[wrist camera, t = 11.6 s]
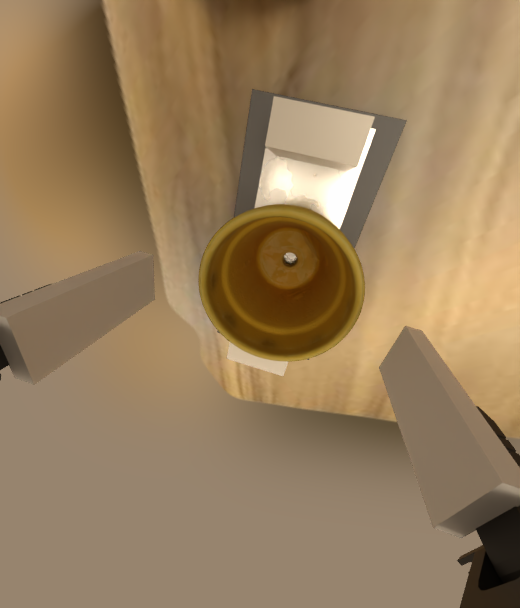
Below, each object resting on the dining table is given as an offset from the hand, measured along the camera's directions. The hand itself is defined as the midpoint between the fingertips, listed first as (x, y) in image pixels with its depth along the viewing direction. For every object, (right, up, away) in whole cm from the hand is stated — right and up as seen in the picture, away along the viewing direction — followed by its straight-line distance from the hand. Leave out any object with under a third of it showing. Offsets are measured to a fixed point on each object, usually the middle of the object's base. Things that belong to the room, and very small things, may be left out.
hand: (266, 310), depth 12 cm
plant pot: (+3, +5, +11) cm, 12 cm away
